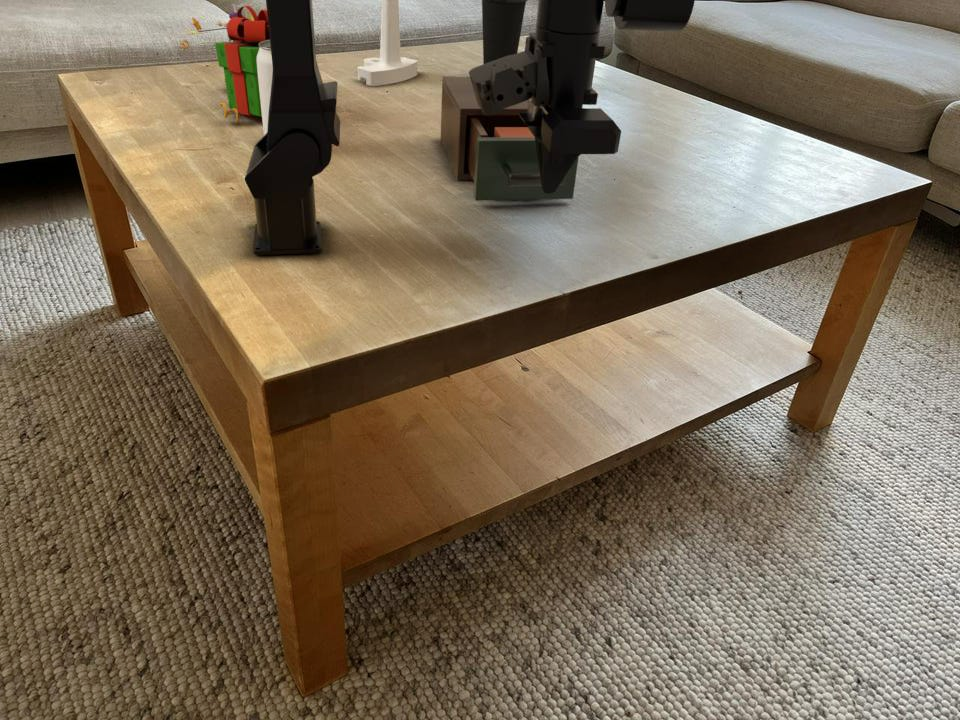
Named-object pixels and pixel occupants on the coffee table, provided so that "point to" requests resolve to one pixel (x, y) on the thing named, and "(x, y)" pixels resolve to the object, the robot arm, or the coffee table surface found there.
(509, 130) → the block
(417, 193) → the coffee table surface
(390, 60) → the white post stand
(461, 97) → the cabinet
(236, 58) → the gift wrap
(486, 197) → the drawer
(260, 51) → the can
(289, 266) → the coffee table surface
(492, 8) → the drinking cup
